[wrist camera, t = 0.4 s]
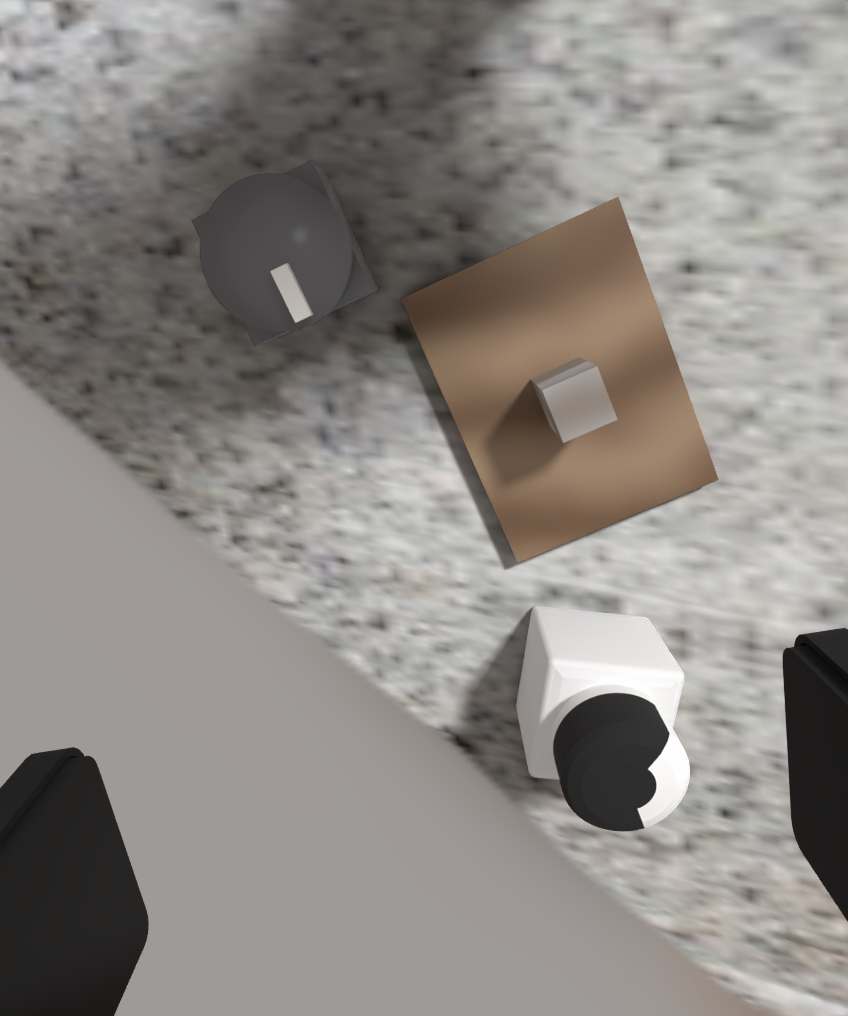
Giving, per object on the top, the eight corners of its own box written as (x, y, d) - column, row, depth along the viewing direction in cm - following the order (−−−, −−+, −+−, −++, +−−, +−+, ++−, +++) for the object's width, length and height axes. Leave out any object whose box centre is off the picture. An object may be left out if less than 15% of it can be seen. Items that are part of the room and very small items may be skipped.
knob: (215, 226, 40) (167, 213, 33) (328, 169, 39) (305, 143, 32) (273, 343, 41) (240, 356, 34) (383, 292, 40) (373, 293, 33)
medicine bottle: (514, 708, 47) (540, 843, 36) (531, 603, 45) (565, 711, 34) (627, 719, 48) (689, 858, 36) (649, 615, 46) (722, 727, 34)
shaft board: (401, 298, 41) (396, 301, 35) (613, 198, 39) (641, 185, 34) (515, 556, 45) (526, 593, 39) (712, 475, 43) (751, 502, 38)
